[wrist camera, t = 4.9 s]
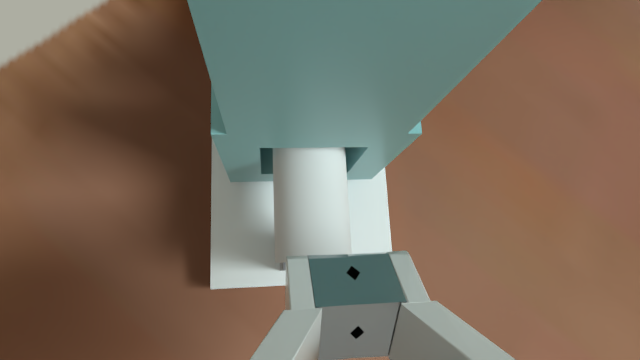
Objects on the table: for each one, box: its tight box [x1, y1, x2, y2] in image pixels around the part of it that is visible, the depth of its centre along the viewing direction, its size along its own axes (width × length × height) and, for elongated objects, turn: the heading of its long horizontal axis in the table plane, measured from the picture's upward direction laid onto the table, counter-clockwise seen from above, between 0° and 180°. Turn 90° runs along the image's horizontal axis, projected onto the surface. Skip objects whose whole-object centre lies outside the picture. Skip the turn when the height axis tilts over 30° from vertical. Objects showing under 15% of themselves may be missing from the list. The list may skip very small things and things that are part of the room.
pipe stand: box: [210, 139, 392, 289], centre depth 20 cm, size 24×9×7 cm, turn 3°
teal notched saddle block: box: [187, 0, 542, 182], centre depth 14 cm, size 4×7×14 cm, turn 93°
